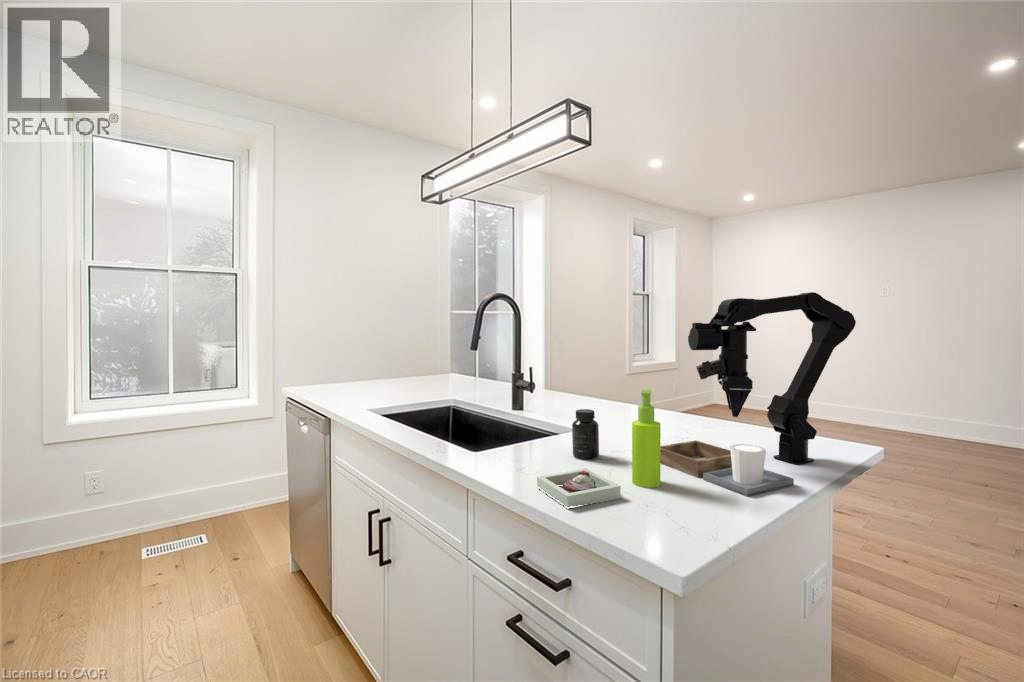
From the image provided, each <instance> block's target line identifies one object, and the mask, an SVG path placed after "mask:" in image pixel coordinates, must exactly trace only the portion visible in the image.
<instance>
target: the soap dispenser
mask: <svg viewBox="0 0 1024 682" xmlns="http://www.w3.org/2000/svg"><path fill="white" fill-rule="evenodd" d="M651 393H652V390H651V389H642V390H641V392H640V394H641V404H639V405H638V406H637V420H632V421H631V470H632V471H631V479H632V480H631V482H632V484H633V485H635V486H638V487H641V488H657V487H660V485H661V463H660V446H661V422H659V421H655V406H654V405H652V404H651V395H652V394H651Z"/></svg>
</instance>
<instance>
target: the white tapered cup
mask: <svg viewBox="0 0 1024 682" xmlns="http://www.w3.org/2000/svg"><path fill="white" fill-rule="evenodd" d="M729 450H730V451H731V461H732V472H733V480H735V481H737V482H739V483H743V484H750V485H757V484H761V483H762V480H763V471H764V469H765V461H766V453H767V451H766V449H765V448H763V447H761V446H758V445H753V444H744V443H741V444H738V443H737V444H733V445H730V446H729Z"/></svg>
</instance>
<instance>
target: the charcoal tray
mask: <svg viewBox="0 0 1024 682" xmlns="http://www.w3.org/2000/svg"><path fill="white" fill-rule="evenodd" d="M702 479H703V481H705V482H707V483H710V484H714V485H716V486H719V487H721V488H724V489H726V490H730V491H732V492H734V493H736V494H739V495H741V496H745V497H752V496H755V495H760V494H764V493H769V492H772V491H775V490H776V491H777V490H781V489H785V488H789V487H794V484H795V482H794V478H793V477H791V476H790V477H789V476H787V475H784V474H780V473H777V472H775V471H771V470H767V469H765V468H764V471H763V480H762V483H761V484H757V485H750V484H743V483H739V482H737V481H735V480H733V472H732V467H731V468H726V469H721V470H716V471H711V472H706V473H703V477H702Z"/></svg>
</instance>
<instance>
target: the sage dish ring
mask: <svg viewBox="0 0 1024 682" xmlns="http://www.w3.org/2000/svg"><path fill="white" fill-rule="evenodd" d="M582 471H586V472H589V476H590V477H592V479H593V480H594V481H595V482H596V483H595V486H596V487H597V488H594V489H588V490H583V491H578V492H573V493H569V492H567V491H565V490H564V489H562V488H561V487H562V486H561V487H559V486H557V485H564V483H565V482H567V481H569V480H570V479H573V478H575V477H576V476H577V475H578V473H579V472H582ZM537 486H538V487H540V488H541V489H543V490H544V491H545V492H547V493H548V494H550V495H551V496H552V497H554V498H555V499H557V500H559V501H560V502H561V503H563V504H564V505H565V506H567V507H570V506H578V505H585V504H591V503H596V504H599V503H598V502H601V503H604V502H603V501H606V502H610V501H615V500H620V499H621V485H619V484H618V483H615V482H614V481H612V480H610V479H608V478H606V477H604V476H601V475H599V474H597V473H596V472H594V471H591V470H589V469H588V468H580V469H575V470H569V471H568V470H567V471H564V472H558V473H553V474H552V473H551V474H544V475H540V476H536V487H537ZM619 498H620V499H619ZM614 499H615V500H614ZM609 500H610V501H609ZM591 505H592V504H591Z"/></svg>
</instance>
